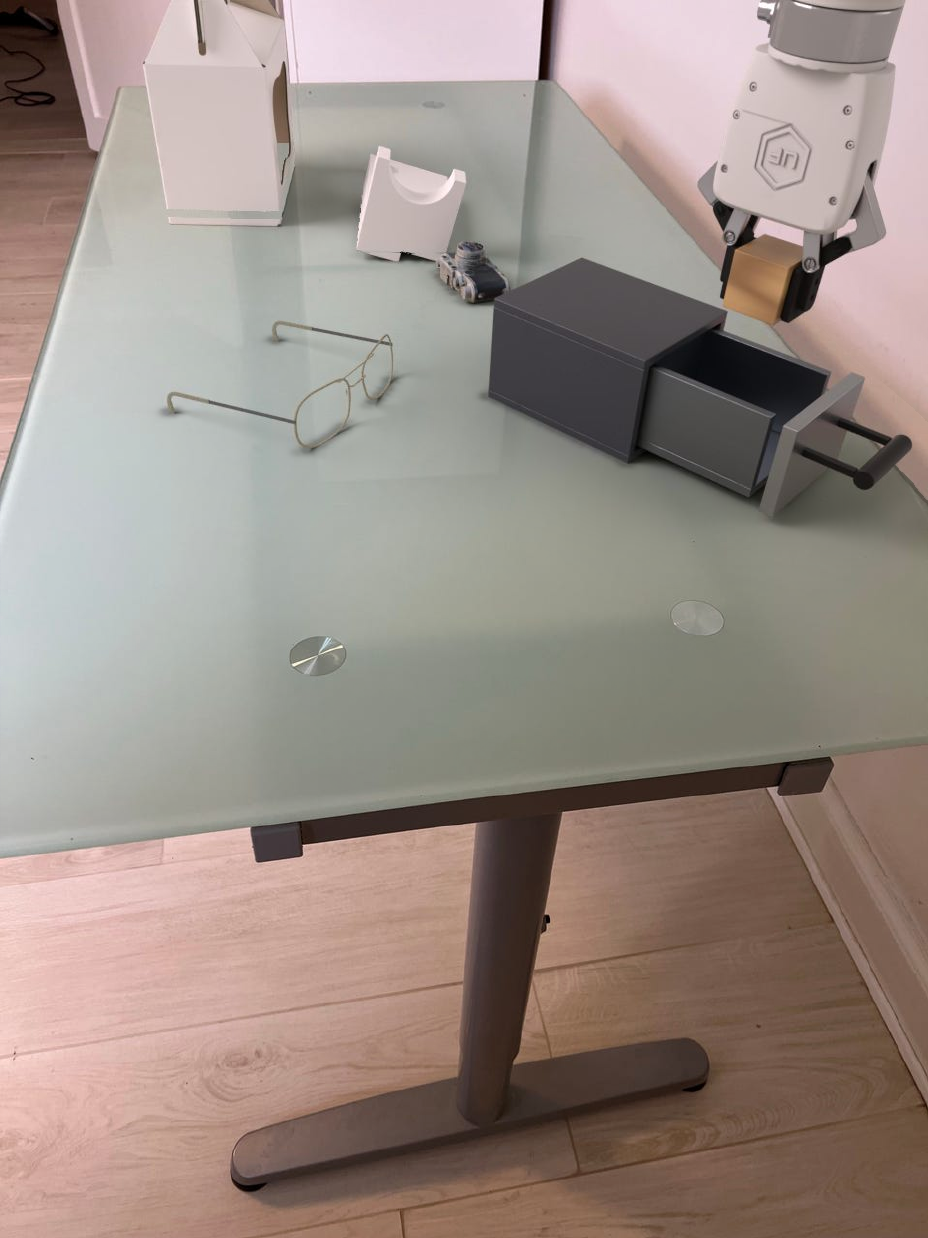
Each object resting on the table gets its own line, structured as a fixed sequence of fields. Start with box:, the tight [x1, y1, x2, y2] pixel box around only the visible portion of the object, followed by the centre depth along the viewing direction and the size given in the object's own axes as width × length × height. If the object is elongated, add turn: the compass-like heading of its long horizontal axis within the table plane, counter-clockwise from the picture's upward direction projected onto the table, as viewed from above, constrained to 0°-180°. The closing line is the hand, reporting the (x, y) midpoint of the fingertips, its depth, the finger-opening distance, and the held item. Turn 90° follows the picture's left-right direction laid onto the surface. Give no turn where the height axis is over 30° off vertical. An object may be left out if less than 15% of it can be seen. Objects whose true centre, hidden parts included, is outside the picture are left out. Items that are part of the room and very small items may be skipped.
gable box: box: [142, 0, 295, 227], centre depth 117 cm, size 22×13×28 cm, turn 2°
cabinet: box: [488, 257, 728, 464], centre depth 88 cm, size 16×13×10 cm
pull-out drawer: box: [635, 327, 913, 518], centre depth 80 cm, size 20×11×8 cm, turn 48°
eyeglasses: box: [166, 320, 394, 449], centre depth 88 cm, size 16×15×5 cm
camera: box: [434, 240, 511, 303], centre depth 107 cm, size 5×10×4 cm, turn 22°
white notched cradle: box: [356, 145, 467, 262], centre depth 116 cm, size 18×10×10 cm, turn 2°
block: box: [722, 233, 803, 326], centre depth 74 cm, size 4×4×4 cm
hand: (763, 302), depth 75 cm, fingers closed on block, 4 cm apart
